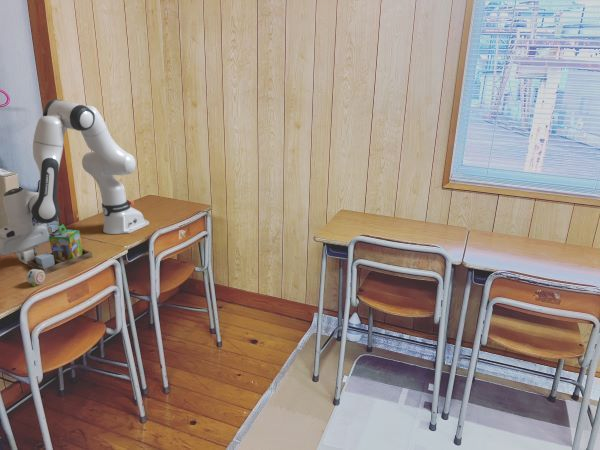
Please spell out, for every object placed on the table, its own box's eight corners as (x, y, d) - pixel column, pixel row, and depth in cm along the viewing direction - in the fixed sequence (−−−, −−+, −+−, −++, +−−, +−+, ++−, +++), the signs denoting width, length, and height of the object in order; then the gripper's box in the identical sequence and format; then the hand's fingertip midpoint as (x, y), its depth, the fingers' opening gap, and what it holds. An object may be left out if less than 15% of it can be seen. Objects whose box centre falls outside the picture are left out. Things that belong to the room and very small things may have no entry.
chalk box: (73, 262, 209) (67, 230, 204) (52, 262, 210) (46, 229, 205) (84, 253, 218) (79, 222, 213) (64, 253, 219) (58, 221, 213)
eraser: (31, 258, 213) (28, 248, 212) (35, 261, 211) (33, 250, 209) (21, 261, 210) (19, 251, 209) (26, 264, 208) (23, 253, 206)
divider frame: (75, 249, 223) (74, 245, 222) (92, 257, 215) (91, 252, 215) (28, 265, 207) (27, 261, 206) (45, 274, 200) (44, 269, 199)
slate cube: (37, 267, 206) (35, 256, 204) (49, 263, 210) (47, 252, 208) (43, 270, 203) (41, 259, 201) (55, 266, 207) (53, 255, 205)
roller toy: (26, 286, 190) (23, 272, 188) (38, 279, 196) (35, 265, 194) (36, 287, 189) (33, 274, 187) (47, 280, 195) (45, 267, 193)
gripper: (42, 218, 215) (48, 248, 220) (-8, 233, 200) (-1, 264, 204) (49, 221, 211) (55, 251, 216) (-1, 236, 196) (6, 268, 201)
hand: (27, 257), depth 210 cm, fingers closed on eraser, 4 cm apart
